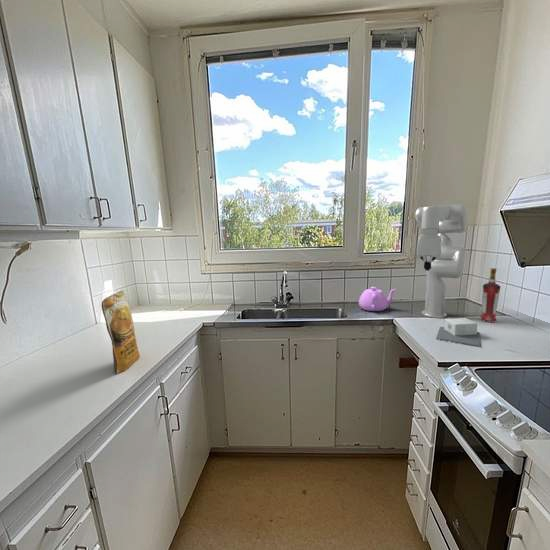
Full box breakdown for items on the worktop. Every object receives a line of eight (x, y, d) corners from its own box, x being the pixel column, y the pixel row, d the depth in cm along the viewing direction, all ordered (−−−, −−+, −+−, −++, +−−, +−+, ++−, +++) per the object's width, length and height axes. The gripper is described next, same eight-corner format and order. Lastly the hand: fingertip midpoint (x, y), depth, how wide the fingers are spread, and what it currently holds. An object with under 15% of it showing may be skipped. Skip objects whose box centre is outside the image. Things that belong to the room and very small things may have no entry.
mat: (440, 327, 143) (440, 326, 143) (479, 333, 134) (479, 332, 134) (436, 339, 128) (436, 338, 128) (479, 347, 119) (479, 345, 119)
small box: (454, 335, 130) (477, 335, 131) (455, 324, 130) (478, 323, 130) (443, 329, 138) (465, 329, 139) (444, 318, 138) (465, 317, 138)
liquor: (479, 317, 157) (484, 267, 152) (496, 319, 153) (501, 268, 148) (479, 321, 151) (484, 269, 146) (497, 323, 147) (503, 269, 142)
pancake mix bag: (102, 376, 102) (92, 300, 97) (129, 353, 120) (122, 288, 116) (121, 376, 102) (112, 299, 97) (145, 353, 120) (138, 288, 116)
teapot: (397, 315, 164) (398, 291, 162) (358, 312, 170) (359, 290, 168) (393, 305, 185) (394, 284, 183) (358, 303, 191) (359, 283, 189)
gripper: (448, 232, 136) (445, 270, 139) (414, 232, 144) (412, 268, 147) (447, 232, 130) (444, 272, 133) (411, 232, 138) (409, 270, 141)
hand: (427, 270), depth 140 cm, fingers closed
